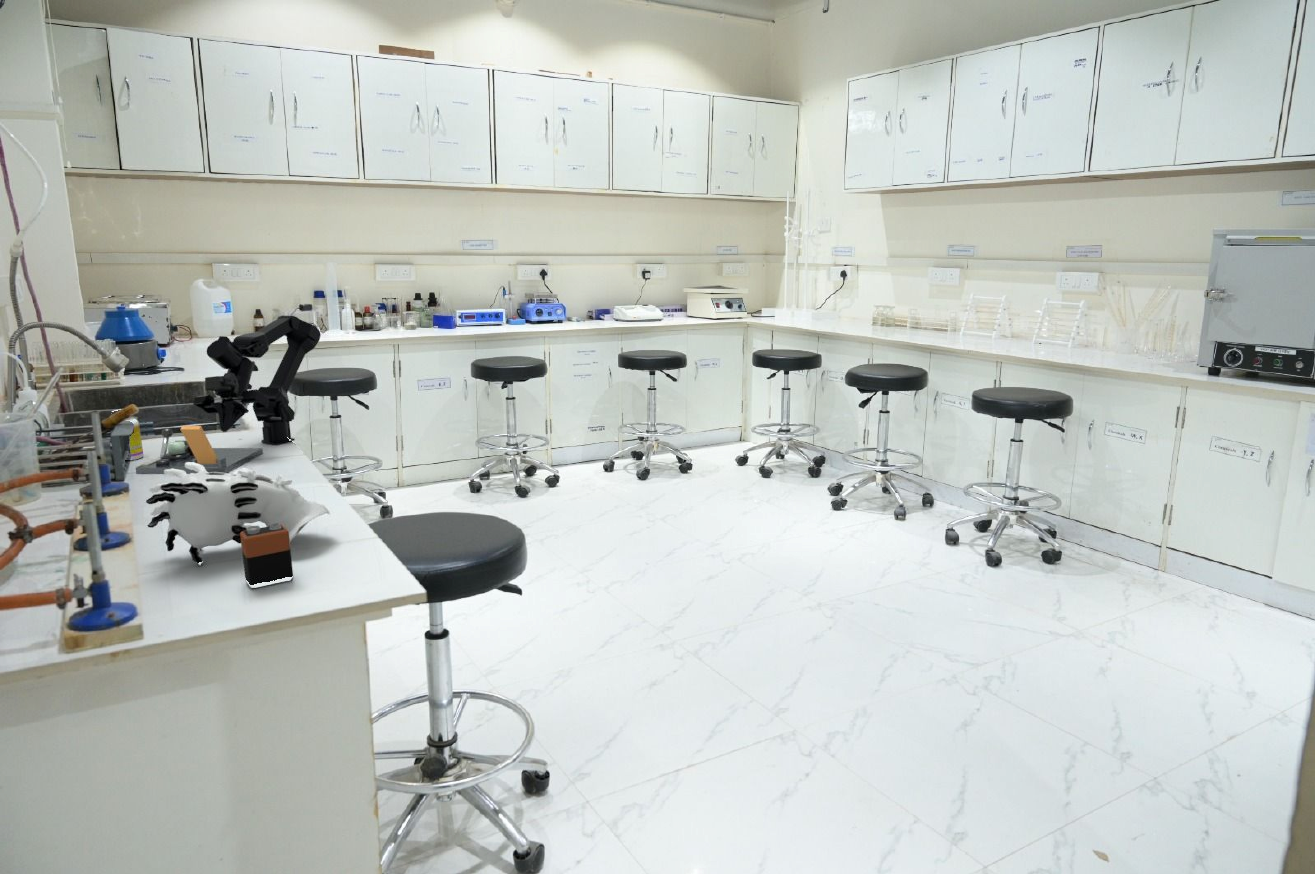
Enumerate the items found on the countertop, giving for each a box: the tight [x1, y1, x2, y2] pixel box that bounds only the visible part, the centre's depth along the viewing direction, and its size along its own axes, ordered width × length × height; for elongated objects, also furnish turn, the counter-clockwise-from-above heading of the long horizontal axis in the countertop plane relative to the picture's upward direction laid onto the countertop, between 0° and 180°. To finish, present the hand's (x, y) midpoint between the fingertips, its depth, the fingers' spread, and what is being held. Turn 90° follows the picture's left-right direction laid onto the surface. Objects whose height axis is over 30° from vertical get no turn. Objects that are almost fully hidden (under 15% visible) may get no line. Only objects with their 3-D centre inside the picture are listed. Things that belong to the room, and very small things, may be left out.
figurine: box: [145, 462, 330, 564], centre depth 153 cm, size 17×16×30 cm
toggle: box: [159, 427, 174, 459], centre depth 209 cm, size 2×2×8 cm
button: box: [167, 440, 185, 454], centre depth 214 cm, size 4×4×2 cm
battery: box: [240, 523, 294, 585], centre depth 140 cm, size 4×7×10 cm, turn 127°
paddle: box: [180, 425, 218, 467], centre depth 202 cm, size 2×5×13 cm
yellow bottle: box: [111, 408, 144, 461], centre depth 218 cm, size 7×7×13 cm
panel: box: [135, 446, 264, 475], centre depth 215 cm, size 21×22×4 cm
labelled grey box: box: [174, 439, 189, 446], centre depth 220 cm, size 7×4×1 cm, turn 0°
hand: (223, 431), depth 213 cm, fingers closed
